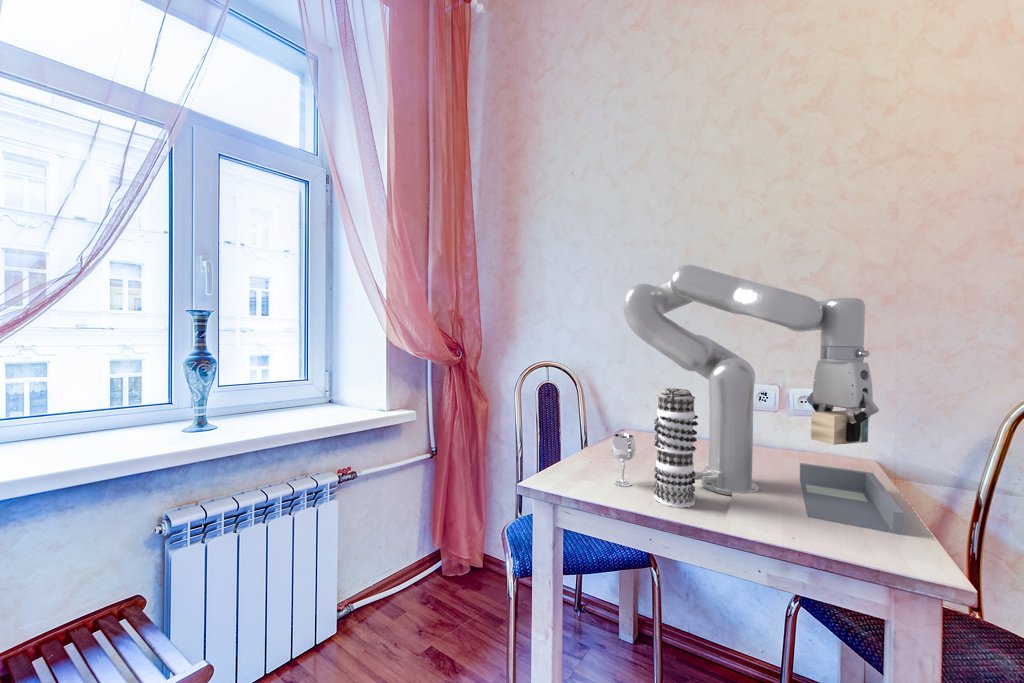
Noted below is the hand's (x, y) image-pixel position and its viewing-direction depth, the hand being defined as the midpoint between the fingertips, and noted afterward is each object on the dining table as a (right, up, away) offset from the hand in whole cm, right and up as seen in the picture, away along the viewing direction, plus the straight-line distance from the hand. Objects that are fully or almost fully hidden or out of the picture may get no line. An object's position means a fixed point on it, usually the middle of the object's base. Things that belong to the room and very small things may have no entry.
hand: (839, 437), depth 94 cm
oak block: (0, -1, 0) cm, 1 cm away
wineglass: (-44, -15, +13) cm, 48 cm away
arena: (+1, -15, 0) cm, 15 cm away
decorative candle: (-35, -15, +3) cm, 38 cm away
